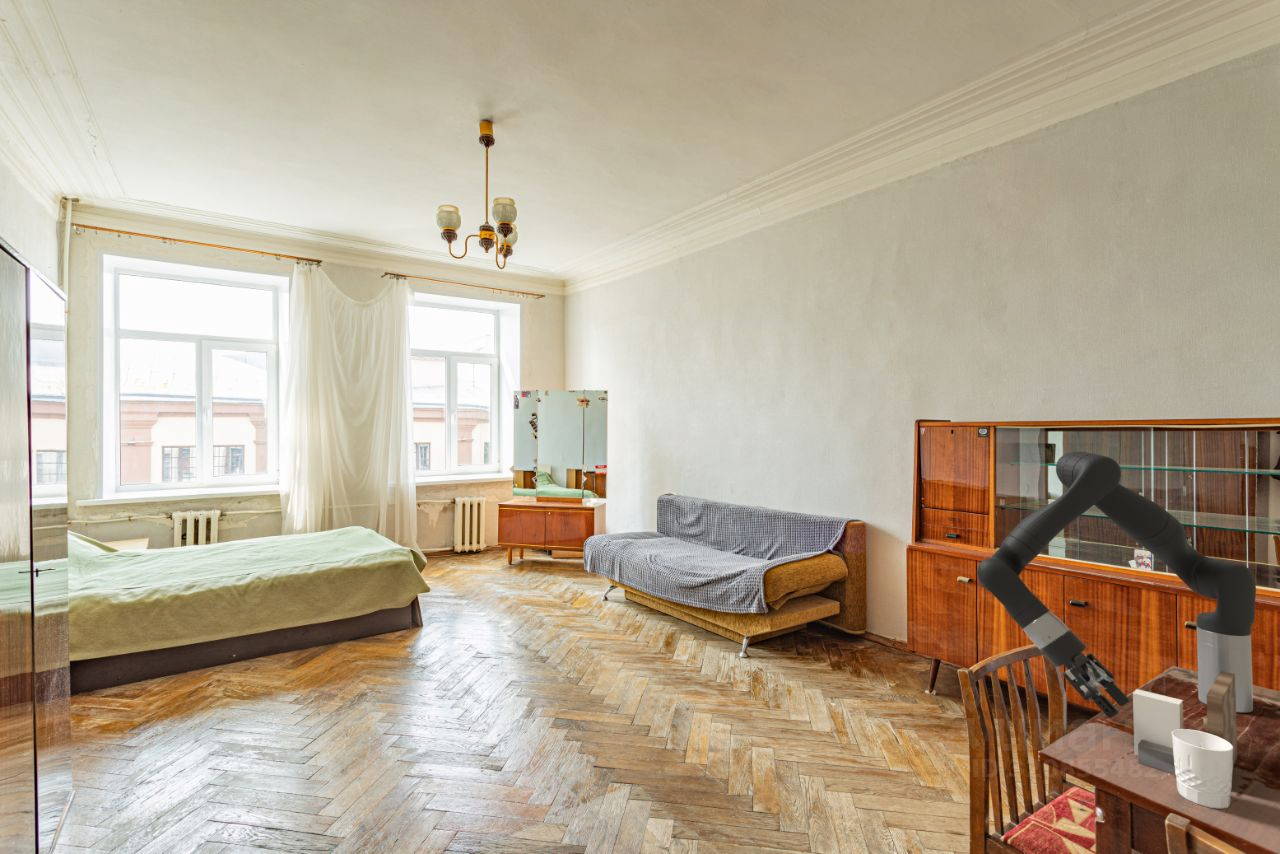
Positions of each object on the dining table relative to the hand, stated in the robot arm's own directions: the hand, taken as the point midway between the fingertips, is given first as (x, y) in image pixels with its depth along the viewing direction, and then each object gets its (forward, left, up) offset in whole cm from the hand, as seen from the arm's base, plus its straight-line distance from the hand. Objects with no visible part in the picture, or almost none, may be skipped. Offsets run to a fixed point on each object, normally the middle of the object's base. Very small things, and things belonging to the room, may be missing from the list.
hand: (1120, 709), depth 124 cm
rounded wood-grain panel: (-4, +10, -8) cm, 13 cm away
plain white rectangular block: (0, +6, -8) cm, 10 cm away
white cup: (+11, +14, -8) cm, 19 cm away
